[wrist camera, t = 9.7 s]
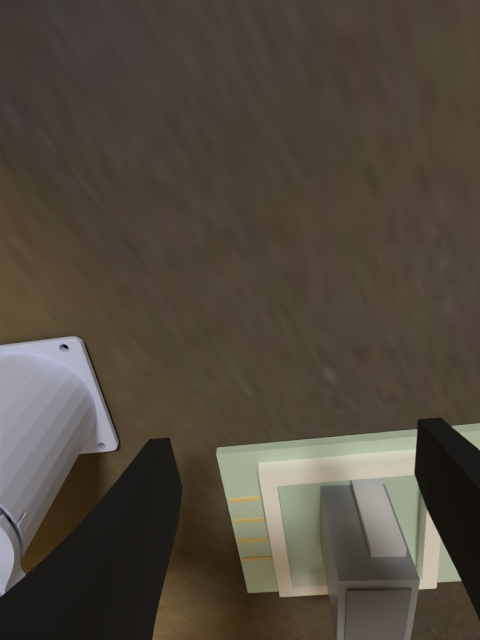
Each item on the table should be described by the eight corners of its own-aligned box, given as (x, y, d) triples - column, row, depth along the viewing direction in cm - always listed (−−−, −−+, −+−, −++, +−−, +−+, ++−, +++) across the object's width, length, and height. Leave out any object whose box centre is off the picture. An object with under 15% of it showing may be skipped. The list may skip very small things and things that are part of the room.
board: (248, 585, 31) (247, 607, 29) (217, 447, 25) (214, 466, 24) (461, 572, 29) (472, 595, 28) (480, 423, 24) (495, 442, 22)
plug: (320, 547, 28) (337, 650, 22) (320, 479, 25) (339, 577, 20) (378, 546, 28) (409, 650, 22) (384, 477, 25) (422, 575, 19)
